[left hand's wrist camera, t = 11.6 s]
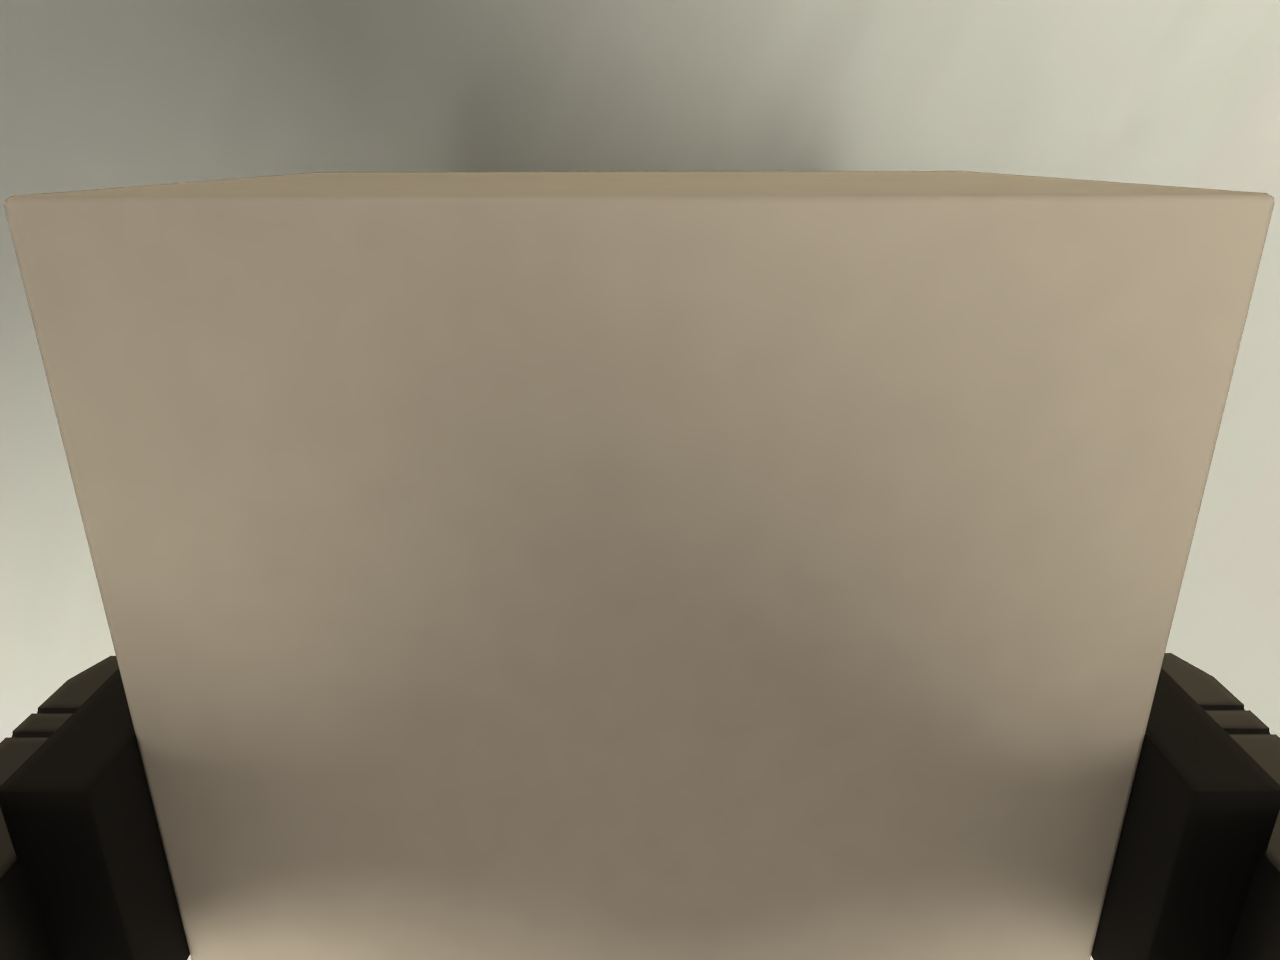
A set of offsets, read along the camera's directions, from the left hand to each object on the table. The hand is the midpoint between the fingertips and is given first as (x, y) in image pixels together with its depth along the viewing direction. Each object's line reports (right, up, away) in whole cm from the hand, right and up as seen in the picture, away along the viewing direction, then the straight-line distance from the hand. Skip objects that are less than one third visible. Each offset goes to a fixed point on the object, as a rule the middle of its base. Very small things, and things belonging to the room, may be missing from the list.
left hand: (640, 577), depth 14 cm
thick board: (0, -20, +9) cm, 22 cm away
